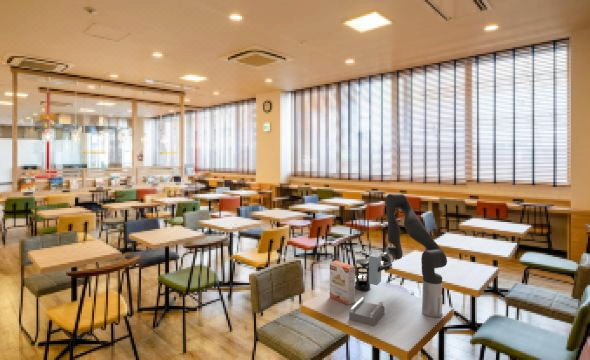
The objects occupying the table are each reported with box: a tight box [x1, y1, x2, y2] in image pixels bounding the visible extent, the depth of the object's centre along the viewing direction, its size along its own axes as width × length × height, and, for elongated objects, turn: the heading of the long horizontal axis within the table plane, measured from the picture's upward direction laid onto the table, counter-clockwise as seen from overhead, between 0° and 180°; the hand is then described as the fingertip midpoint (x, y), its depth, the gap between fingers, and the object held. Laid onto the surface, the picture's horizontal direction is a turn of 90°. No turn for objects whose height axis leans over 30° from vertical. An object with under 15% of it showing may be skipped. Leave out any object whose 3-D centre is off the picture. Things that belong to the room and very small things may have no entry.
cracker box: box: [329, 260, 356, 306], centre depth 196 cm, size 14×6×21 cm, turn 42°
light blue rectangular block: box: [368, 252, 382, 286], centre depth 185 cm, size 4×6×15 cm
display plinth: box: [348, 297, 385, 327], centre depth 177 cm, size 13×15×6 cm
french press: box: [355, 250, 371, 292], centre depth 212 cm, size 12×9×23 cm
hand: (373, 269), depth 183 cm, fingers closed on light blue rectangular block, 4 cm apart
